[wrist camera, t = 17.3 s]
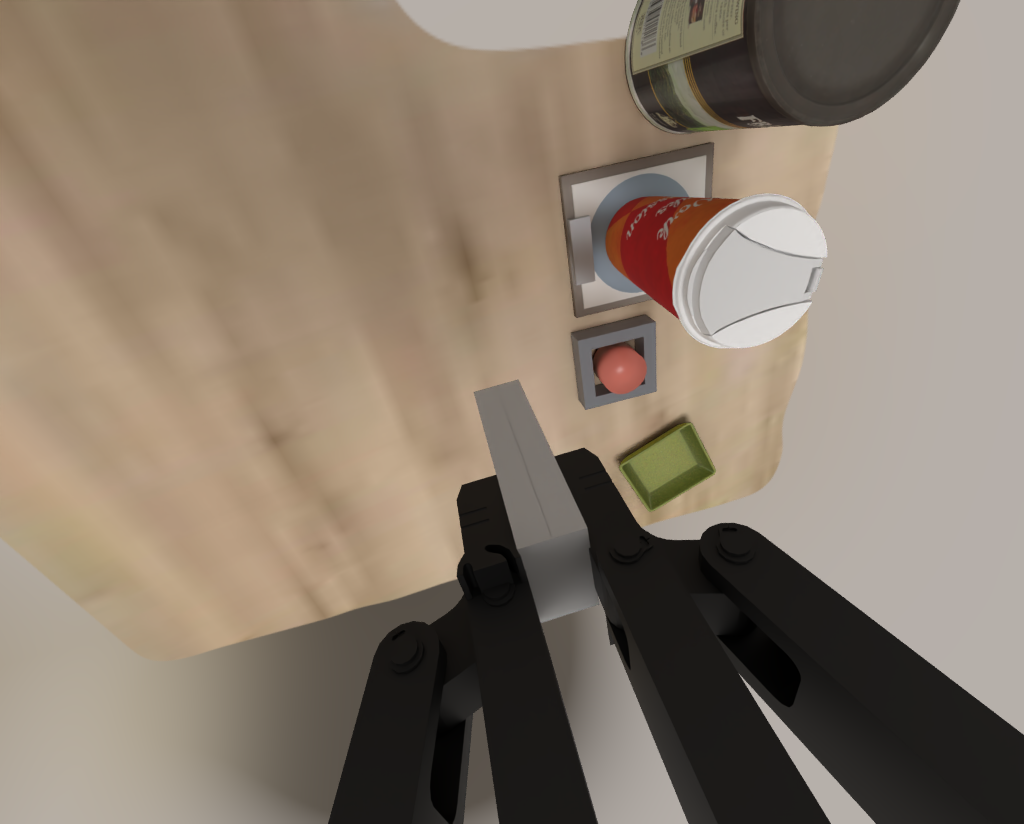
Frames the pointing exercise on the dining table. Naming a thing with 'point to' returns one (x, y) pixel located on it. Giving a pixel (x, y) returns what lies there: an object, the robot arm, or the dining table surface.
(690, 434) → the green rectangular tray
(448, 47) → the dining table surface
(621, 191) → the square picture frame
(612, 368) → the button
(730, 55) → the coffee can
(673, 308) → the coffee cup
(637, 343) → the button housing
